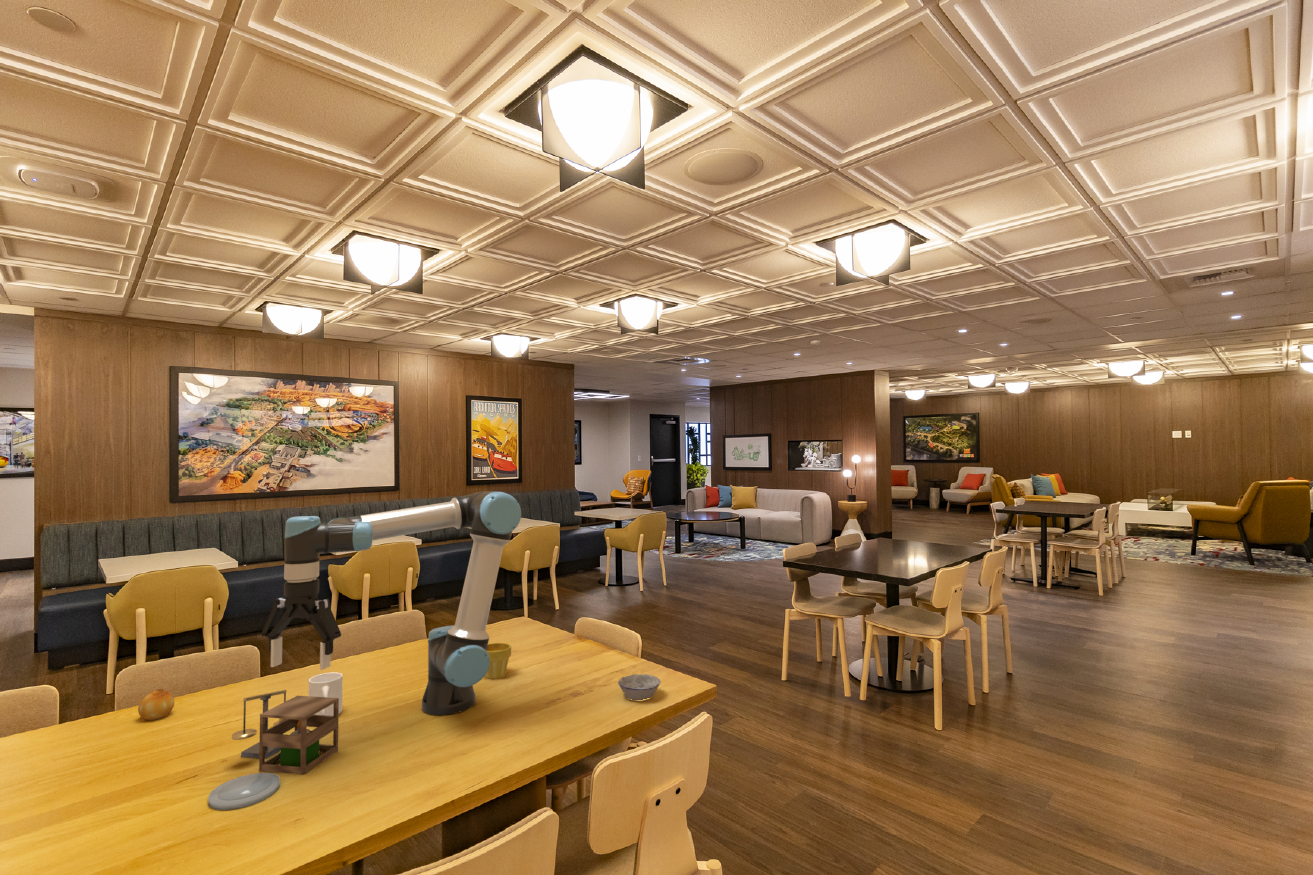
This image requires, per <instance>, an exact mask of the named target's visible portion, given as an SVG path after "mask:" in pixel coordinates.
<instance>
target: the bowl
mask: <svg viewBox="0 0 1313 875" xmlns="http://www.w3.org/2000/svg"><path fill="white" fill-rule="evenodd" d="M617 684H618V686H619V687H620V689H621V691H622V692H623V694H624V695H625V697H626V699H628V698H629V699H632V700H643V699H647V698H650V697H652V696H653V697H654V695H655V693H656V692H657V690H658V688H659V686H660V684H661V679H660V678H658V676H657V677H656V676H655V675H652V674H651V675H650V674H643V673H642V674H630V675H626V676H622V677H621V678H620V679H619V680H618V683H617ZM653 697H652V698H653ZM629 699H628V700H629ZM632 700H631V701H632Z"/></svg>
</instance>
